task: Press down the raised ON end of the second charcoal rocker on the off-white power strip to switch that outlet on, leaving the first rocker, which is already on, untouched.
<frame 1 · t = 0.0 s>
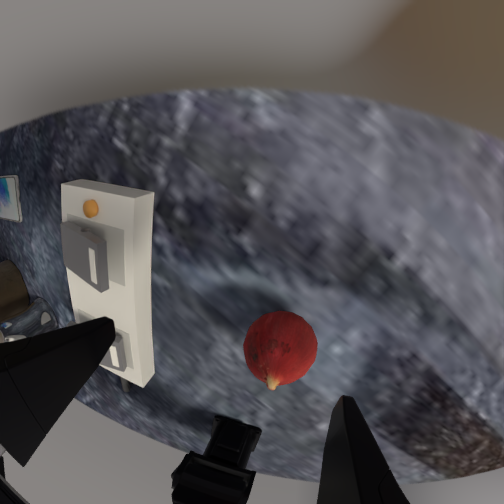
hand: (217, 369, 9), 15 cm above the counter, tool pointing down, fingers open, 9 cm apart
rocker 2: (84, 253, 23), point 4 cm above the counter, hinge at -12.0°
power strip: (115, 286, 29), on the counter
onion: (287, 321, 25), on the counter
rocker 1: (97, 345, 28), point 4 cm above the counter, hinge at 12.0°
smartphone: (4, 196, 32), on the counter
pillar candle: (16, 283, 38), on the counter
beer glass: (47, 313, 37), on the counter
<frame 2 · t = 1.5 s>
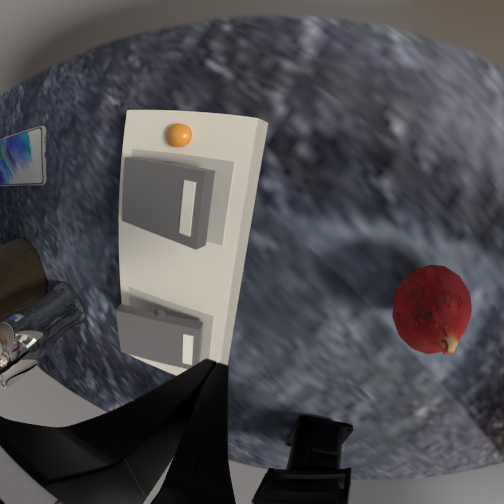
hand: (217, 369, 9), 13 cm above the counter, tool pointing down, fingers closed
rocker 2: (163, 197, 18), point 4 cm above the counter, hinge at -12.0°
power strip: (186, 255, 24), on the counter
onion: (418, 284, 20), on the counter
rocker 1: (159, 337, 22), point 4 cm above the counter, hinge at 12.0°
smartphone: (21, 158, 27), on the counter
pillar candle: (29, 268, 32), on the counter
beer glass: (71, 302, 31), on the counter
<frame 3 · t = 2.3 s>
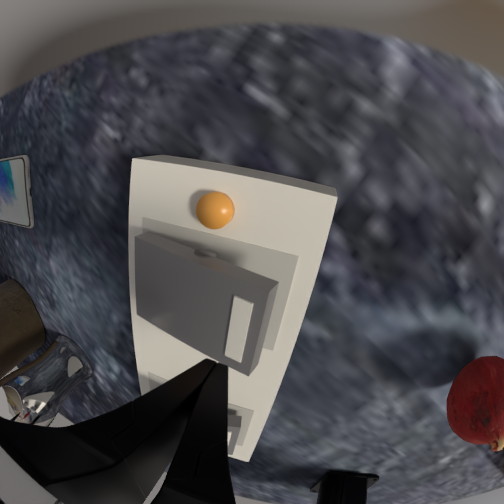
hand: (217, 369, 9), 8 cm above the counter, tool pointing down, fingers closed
rocker 2: (197, 300, 13), point 4 cm above the counter, hinge at -12.0°
power strip: (217, 337, 19), on the counter
onion: (469, 363, 15), on the counter
rocker 1: (189, 426, 18), point 4 cm above the counter, hinge at 12.0°
smartphone: (5, 189, 22), on the counter
pillar candle: (25, 311, 28), on the counter
beer glass: (75, 355, 27), on the counter
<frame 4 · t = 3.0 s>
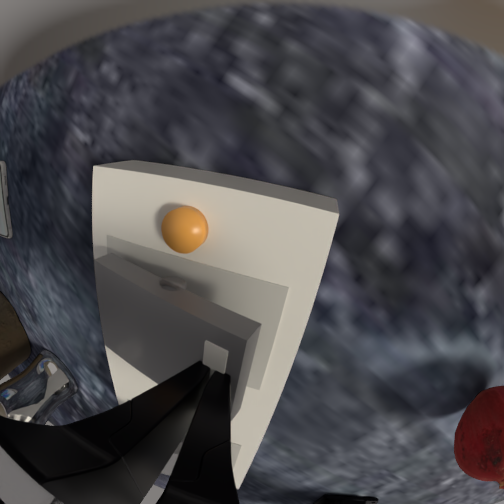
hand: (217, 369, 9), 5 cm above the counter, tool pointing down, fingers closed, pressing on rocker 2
rocker 2: (166, 336, 10), point 4 cm above the counter, hinge at -11.3°, touching gripper
power strip: (200, 364, 17), on the counter
onion: (480, 391, 13), on the counter
rocker 1: (172, 457, 15), point 4 cm above the counter, hinge at 12.0°
pillar candle: (10, 322, 25), on the counter
beer glass: (60, 370, 24), on the counter
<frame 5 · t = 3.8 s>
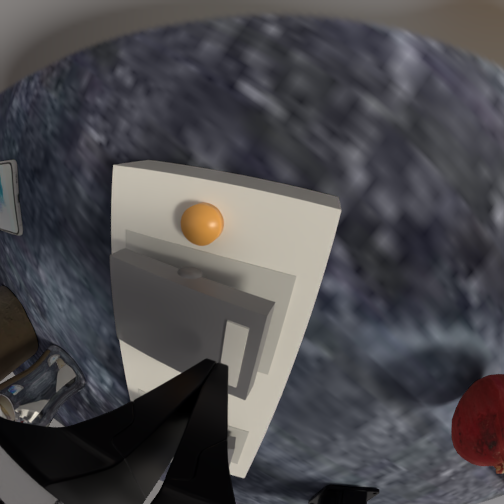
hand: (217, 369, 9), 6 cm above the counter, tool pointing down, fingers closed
rocker 2: (183, 322, 12), point 4 cm above the counter, hinge at -5.4°
power strip: (210, 354, 18), on the counter
onion: (475, 380, 14), on the counter
rocker 1: (181, 445, 16), point 4 cm above the counter, hinge at 12.0°
pillar candle: (17, 318, 26), on the counter
beer glass: (67, 365, 25), on the counter
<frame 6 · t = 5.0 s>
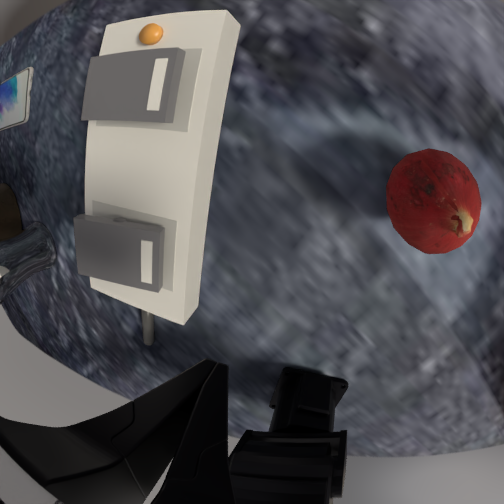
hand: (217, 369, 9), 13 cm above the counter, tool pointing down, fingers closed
rocker 2: (129, 86, 14), point 4 cm above the counter, hinge at 1.0°
power strip: (155, 164, 21), on the counter
onion: (414, 189, 17), on the counter
rocker 1: (118, 251, 19), point 4 cm above the counter, hinge at 12.0°
smartphone: (8, 104, 23), on the counter
pillar candle: (8, 215, 29), on the counter
beer glass: (43, 244, 28), on the counter
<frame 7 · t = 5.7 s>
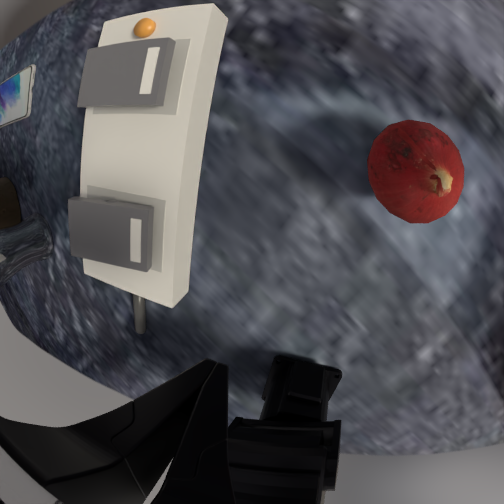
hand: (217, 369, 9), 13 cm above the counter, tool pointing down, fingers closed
rocker 2: (123, 74, 15), point 4 cm above the counter, hinge at 3.8°
power strip: (147, 150, 21), on the counter
onion: (399, 166, 17), on the counter
rocker 1: (109, 231, 19), point 4 cm above the counter, hinge at 12.0°
smartphone: (11, 100, 24), on the counter
pillar candle: (8, 208, 30), on the counter
beer glass: (41, 235, 29), on the counter
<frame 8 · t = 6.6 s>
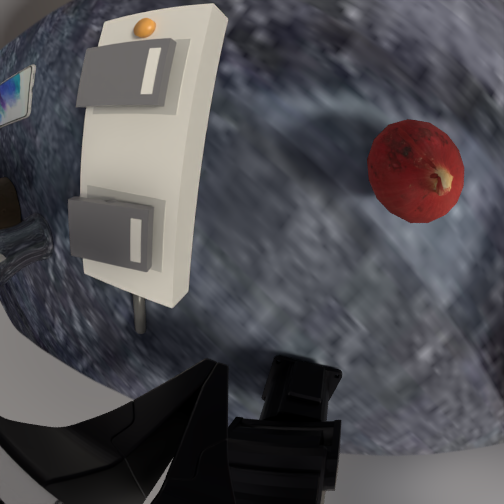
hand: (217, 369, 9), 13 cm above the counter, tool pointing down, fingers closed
rocker 2: (123, 74, 15), point 4 cm above the counter, hinge at 6.5°
power strip: (147, 150, 21), on the counter
onion: (399, 166, 17), on the counter
rocker 1: (109, 231, 19), point 4 cm above the counter, hinge at 12.0°
smartphone: (11, 100, 24), on the counter
pillar candle: (8, 208, 30), on the counter
beer glass: (41, 235, 29), on the counter
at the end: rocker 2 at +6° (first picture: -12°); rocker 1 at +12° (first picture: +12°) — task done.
